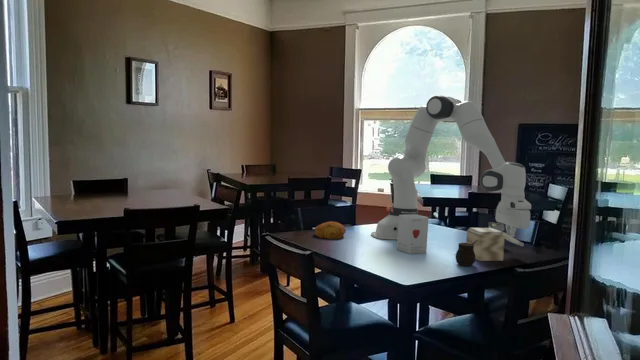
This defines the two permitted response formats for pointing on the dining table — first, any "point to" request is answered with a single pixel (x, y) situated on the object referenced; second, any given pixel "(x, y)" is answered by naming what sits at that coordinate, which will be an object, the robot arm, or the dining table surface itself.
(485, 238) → the block
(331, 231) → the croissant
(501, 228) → the food container
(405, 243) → the supplement box
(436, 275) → the dining table surface
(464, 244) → the mate gourd
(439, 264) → the dining table surface
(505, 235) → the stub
